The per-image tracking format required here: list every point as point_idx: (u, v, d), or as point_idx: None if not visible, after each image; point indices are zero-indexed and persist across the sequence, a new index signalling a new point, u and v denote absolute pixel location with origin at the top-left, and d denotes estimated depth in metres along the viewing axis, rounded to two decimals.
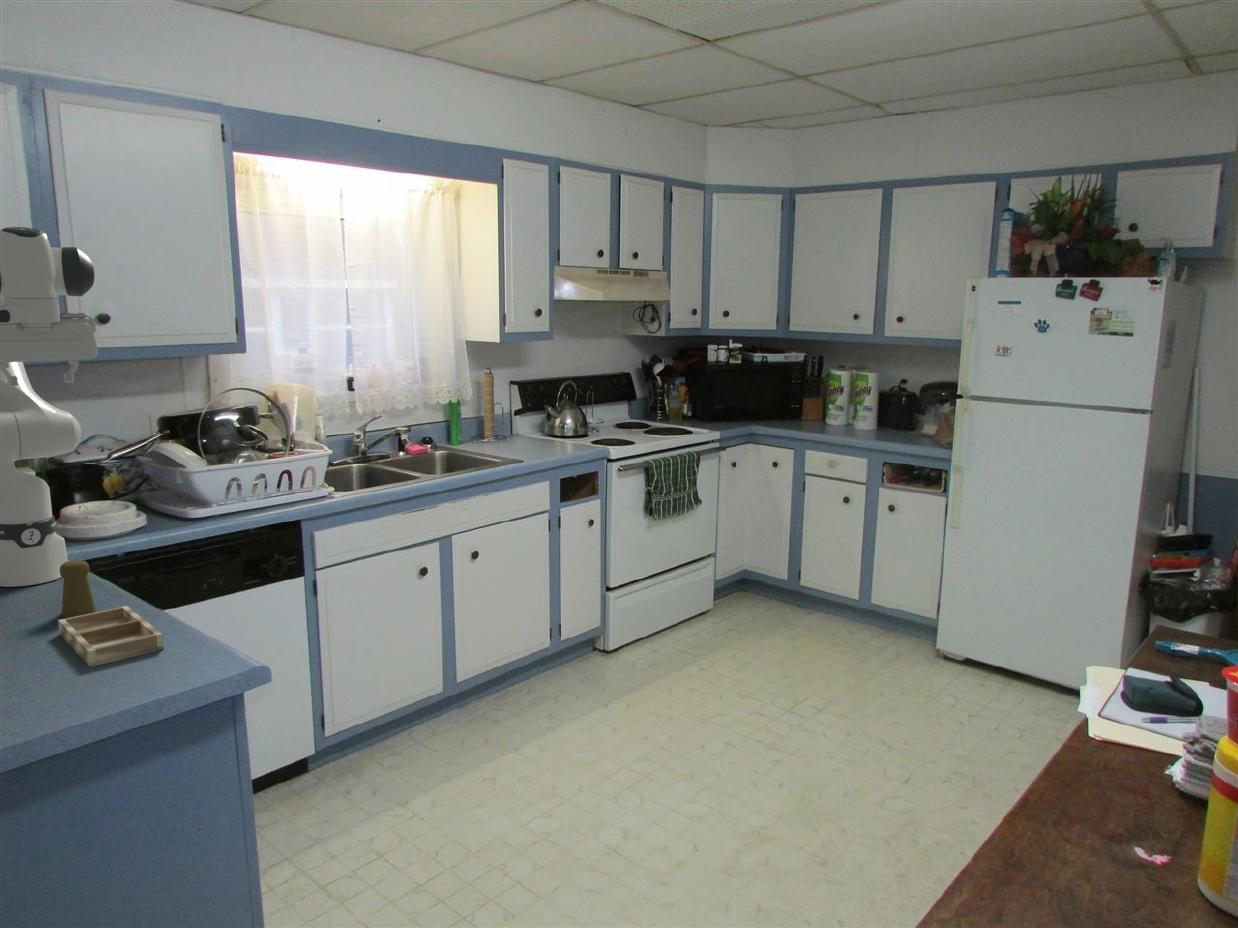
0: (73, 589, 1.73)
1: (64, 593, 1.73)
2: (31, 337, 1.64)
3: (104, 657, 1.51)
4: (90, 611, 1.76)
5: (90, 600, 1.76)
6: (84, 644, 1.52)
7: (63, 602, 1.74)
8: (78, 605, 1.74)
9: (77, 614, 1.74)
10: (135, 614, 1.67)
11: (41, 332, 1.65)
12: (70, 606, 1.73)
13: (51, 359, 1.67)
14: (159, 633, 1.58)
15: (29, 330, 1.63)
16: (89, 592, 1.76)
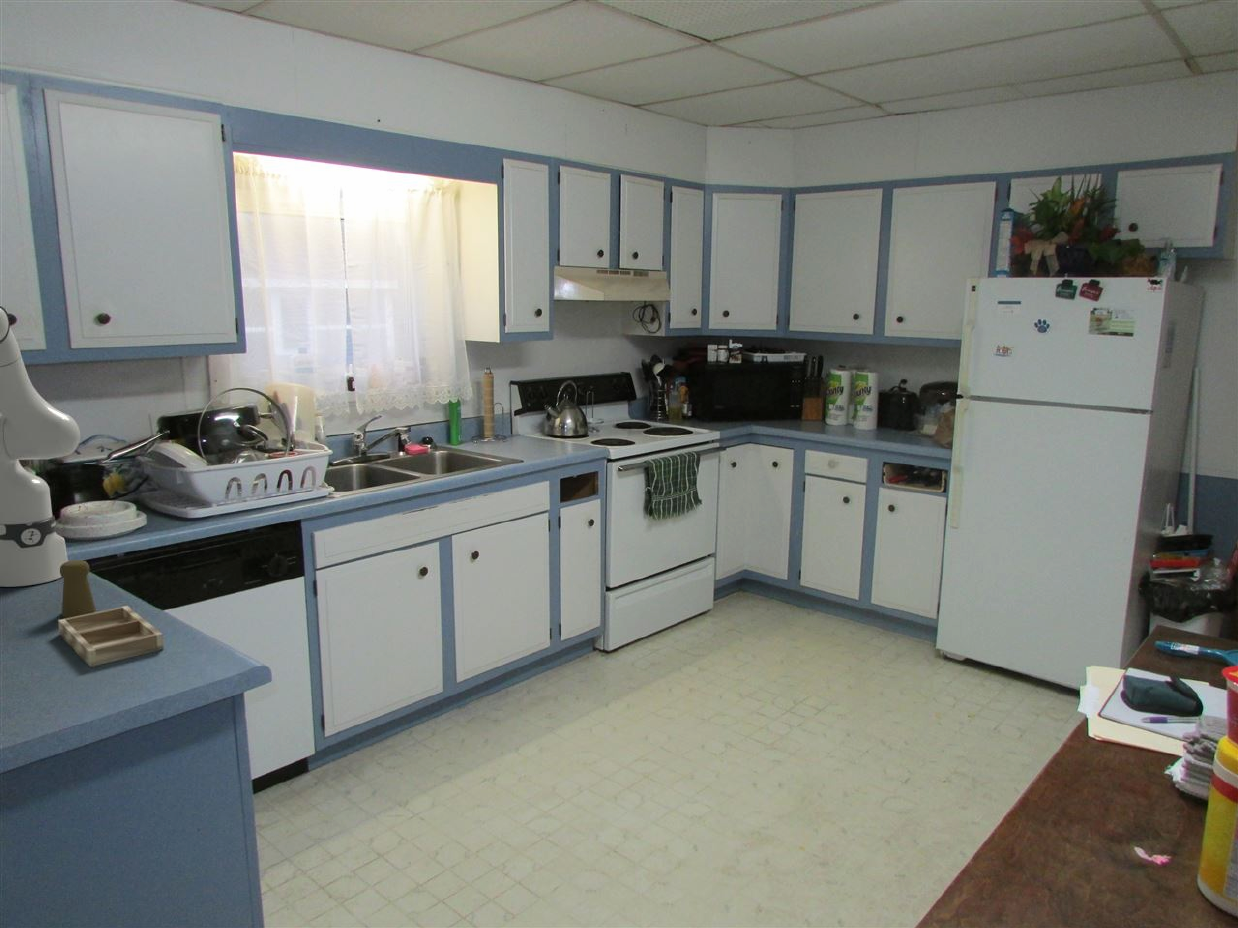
0: (73, 589, 1.73)
1: (64, 593, 1.73)
2: None
3: (104, 657, 1.51)
4: (90, 611, 1.76)
5: (90, 600, 1.76)
6: (84, 644, 1.52)
7: (63, 602, 1.74)
8: (78, 605, 1.74)
9: (77, 614, 1.74)
10: (135, 614, 1.67)
11: None
12: (70, 606, 1.73)
13: None
14: (159, 633, 1.58)
15: None
16: (89, 592, 1.76)
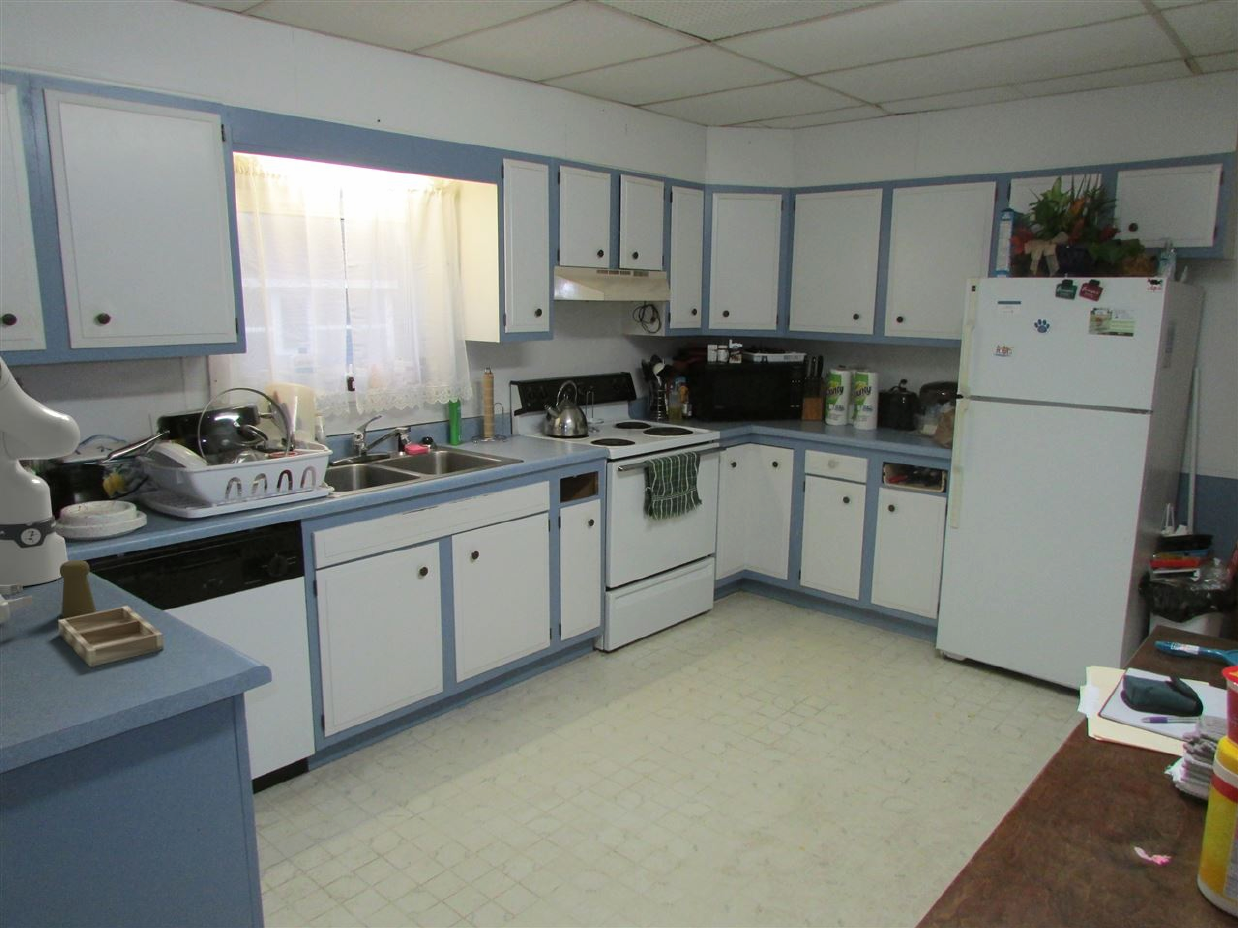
0: (73, 589, 1.73)
1: (64, 593, 1.73)
2: None
3: (104, 657, 1.51)
4: (90, 611, 1.76)
5: (90, 600, 1.76)
6: (84, 644, 1.52)
7: (63, 602, 1.74)
8: (78, 605, 1.74)
9: (77, 614, 1.74)
10: (135, 614, 1.67)
11: None
12: (70, 606, 1.73)
13: None
14: (159, 633, 1.58)
15: None
16: (89, 592, 1.76)
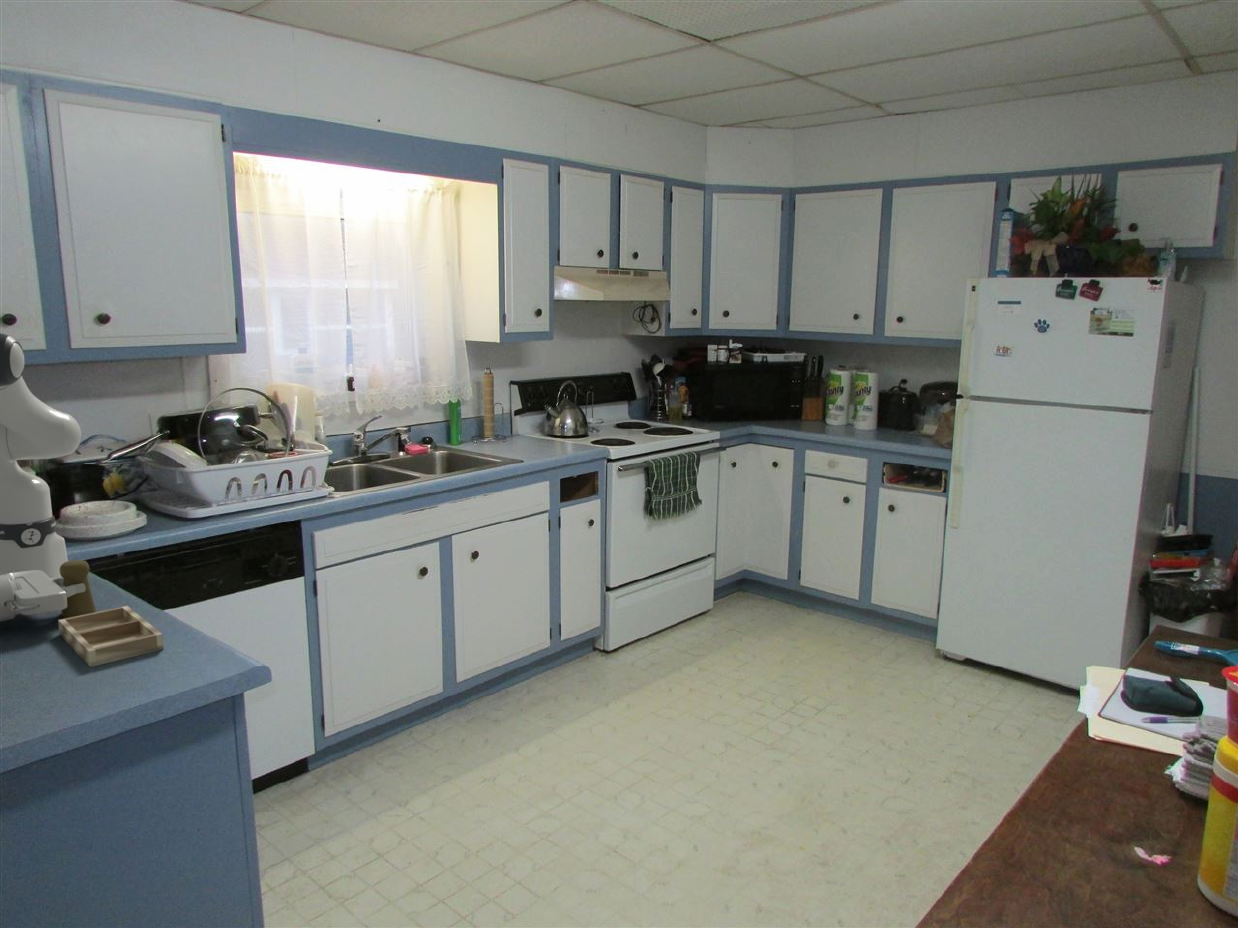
0: None
1: None
2: None
3: (104, 657, 1.51)
4: (90, 611, 1.76)
5: (90, 600, 1.76)
6: (84, 644, 1.52)
7: None
8: (78, 605, 1.74)
9: (77, 614, 1.74)
10: (135, 614, 1.67)
11: None
12: (70, 606, 1.73)
13: None
14: (159, 633, 1.58)
15: None
16: (89, 592, 1.76)
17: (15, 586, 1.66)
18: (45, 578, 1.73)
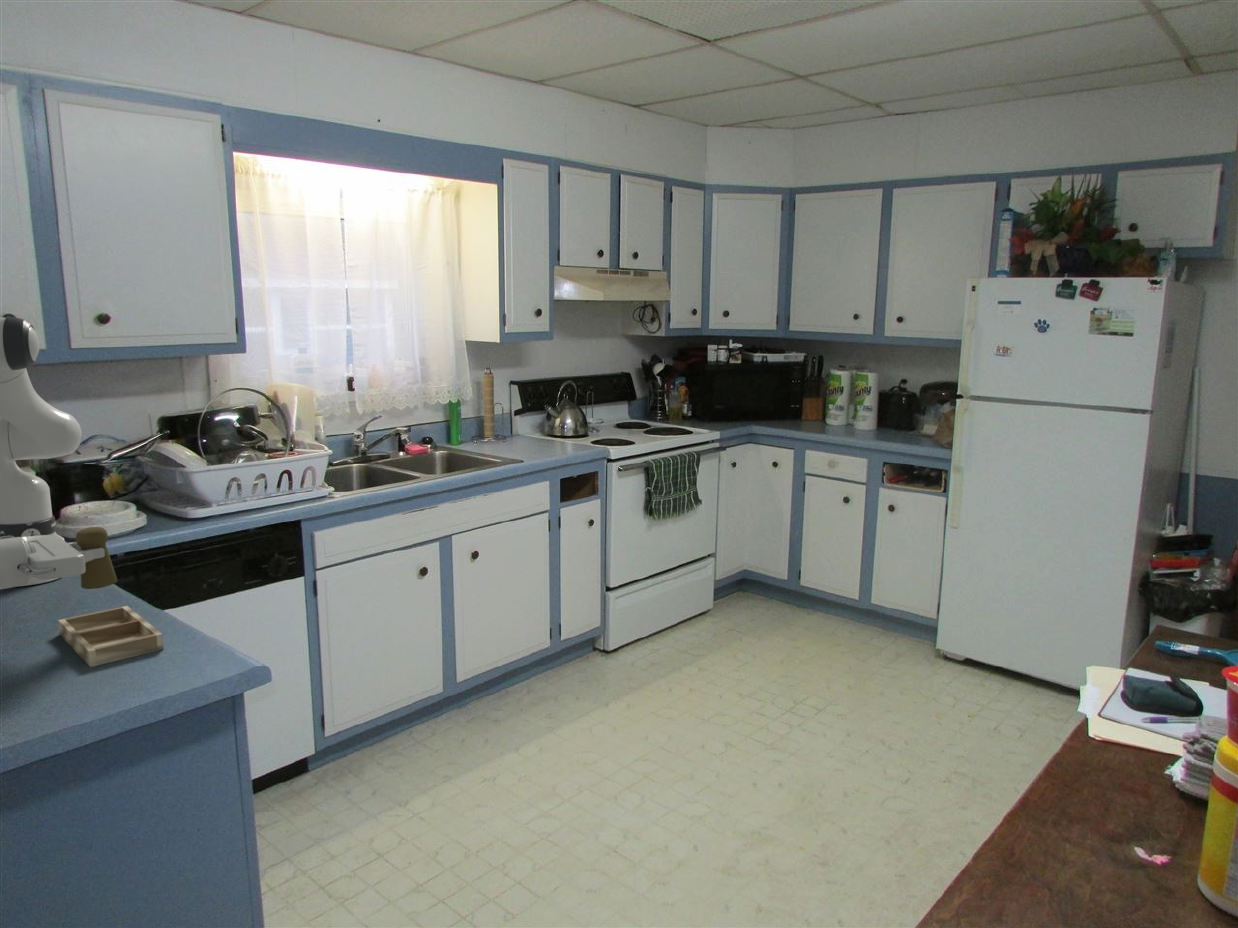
0: None
1: None
2: None
3: (104, 657, 1.51)
4: (111, 581, 1.62)
5: (111, 569, 1.62)
6: (84, 644, 1.52)
7: None
8: (98, 575, 1.60)
9: (98, 585, 1.60)
10: (135, 614, 1.67)
11: None
12: (90, 577, 1.60)
13: None
14: (159, 633, 1.58)
15: None
16: (109, 561, 1.62)
17: (29, 549, 1.52)
18: (61, 542, 1.59)
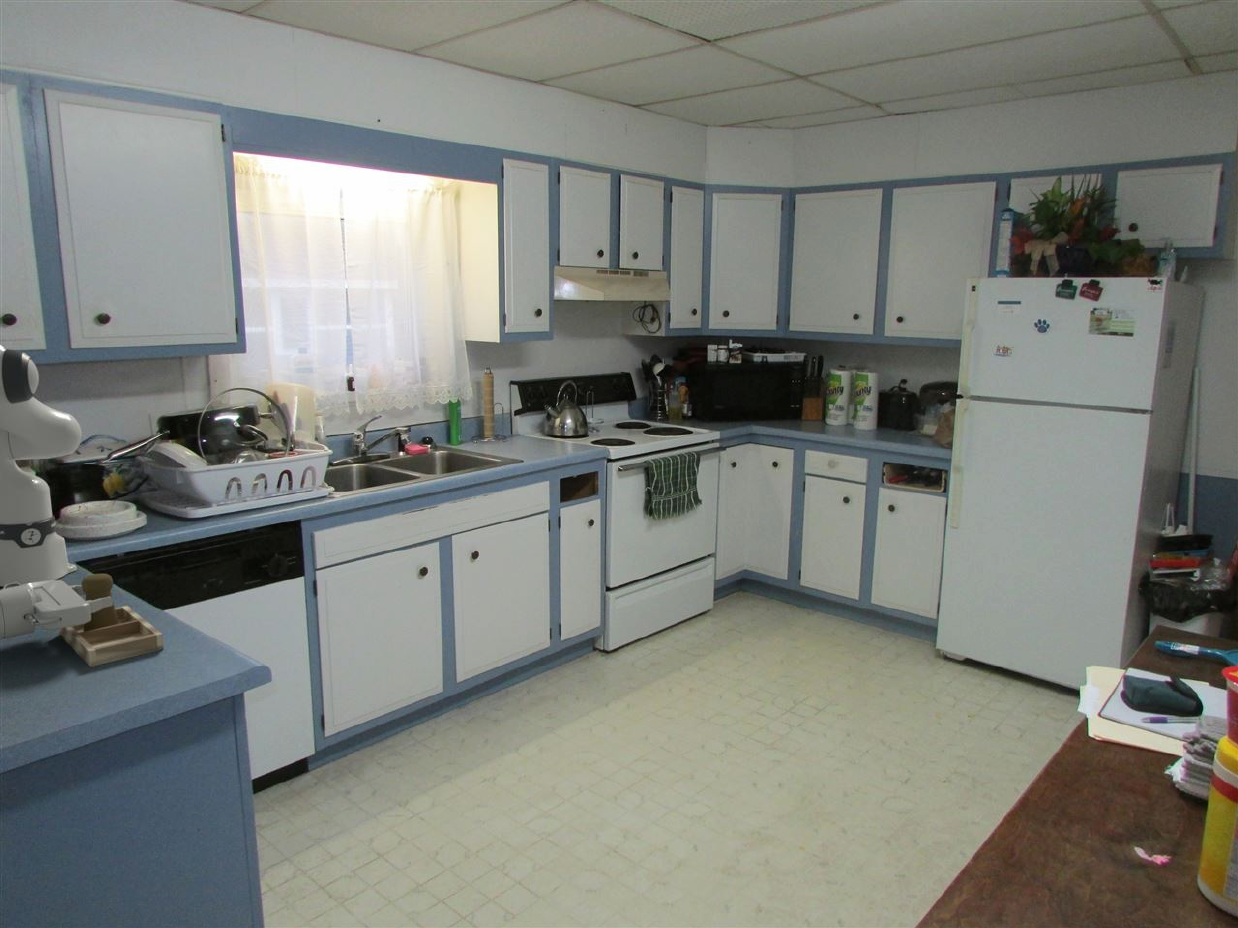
0: None
1: None
2: None
3: (104, 657, 1.51)
4: None
5: (114, 616, 1.65)
6: (84, 644, 1.52)
7: None
8: (101, 622, 1.62)
9: None
10: (135, 614, 1.67)
11: None
12: (93, 623, 1.62)
13: None
14: (159, 633, 1.58)
15: None
16: (113, 608, 1.65)
17: (35, 598, 1.54)
18: (66, 589, 1.61)
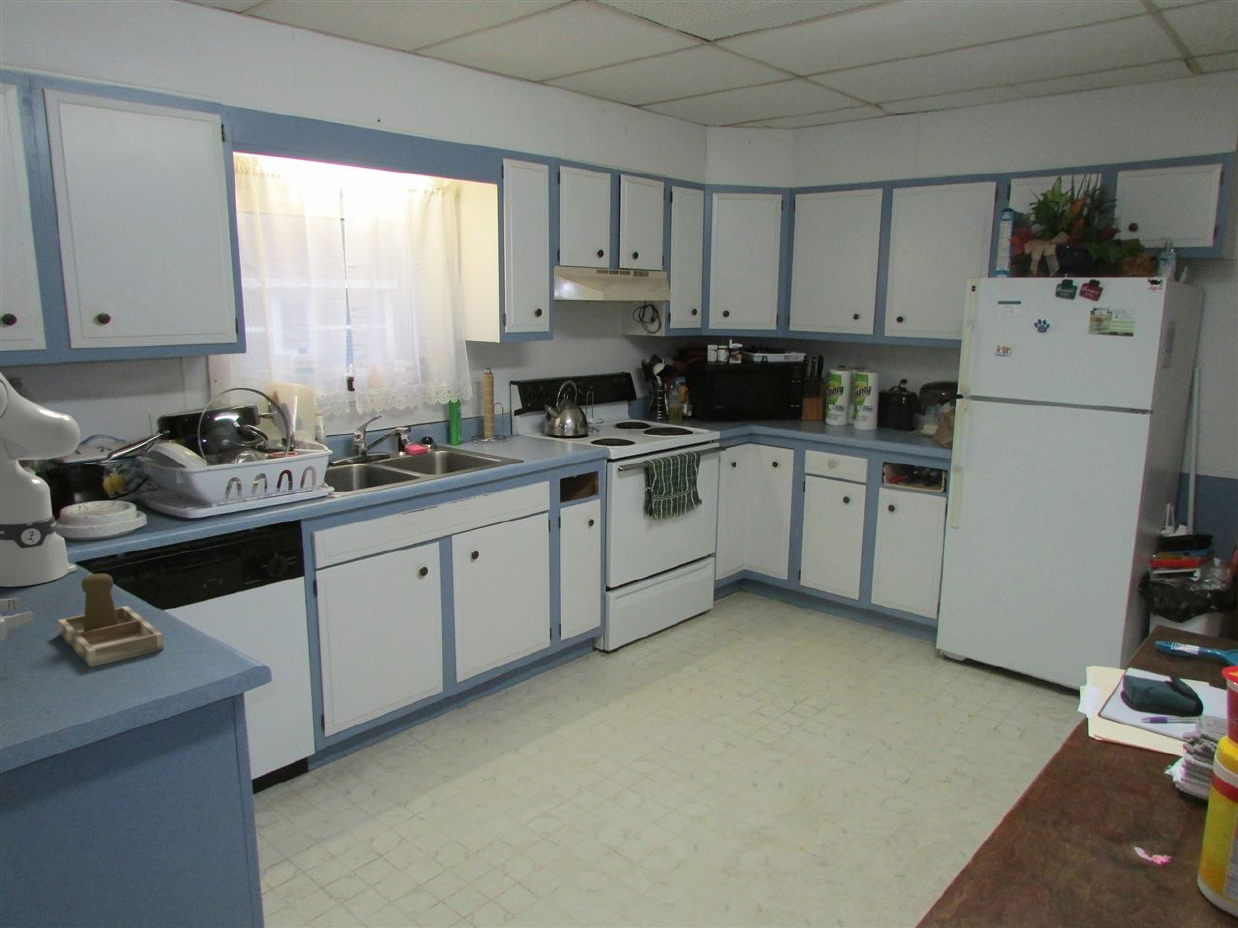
0: (96, 605, 1.62)
1: (86, 609, 1.62)
2: None
3: (104, 657, 1.51)
4: None
5: (114, 616, 1.65)
6: (84, 644, 1.52)
7: (85, 619, 1.63)
8: (101, 622, 1.62)
9: None
10: (135, 614, 1.67)
11: None
12: (93, 623, 1.62)
13: None
14: (159, 633, 1.58)
15: None
16: (113, 608, 1.65)
17: None
18: None
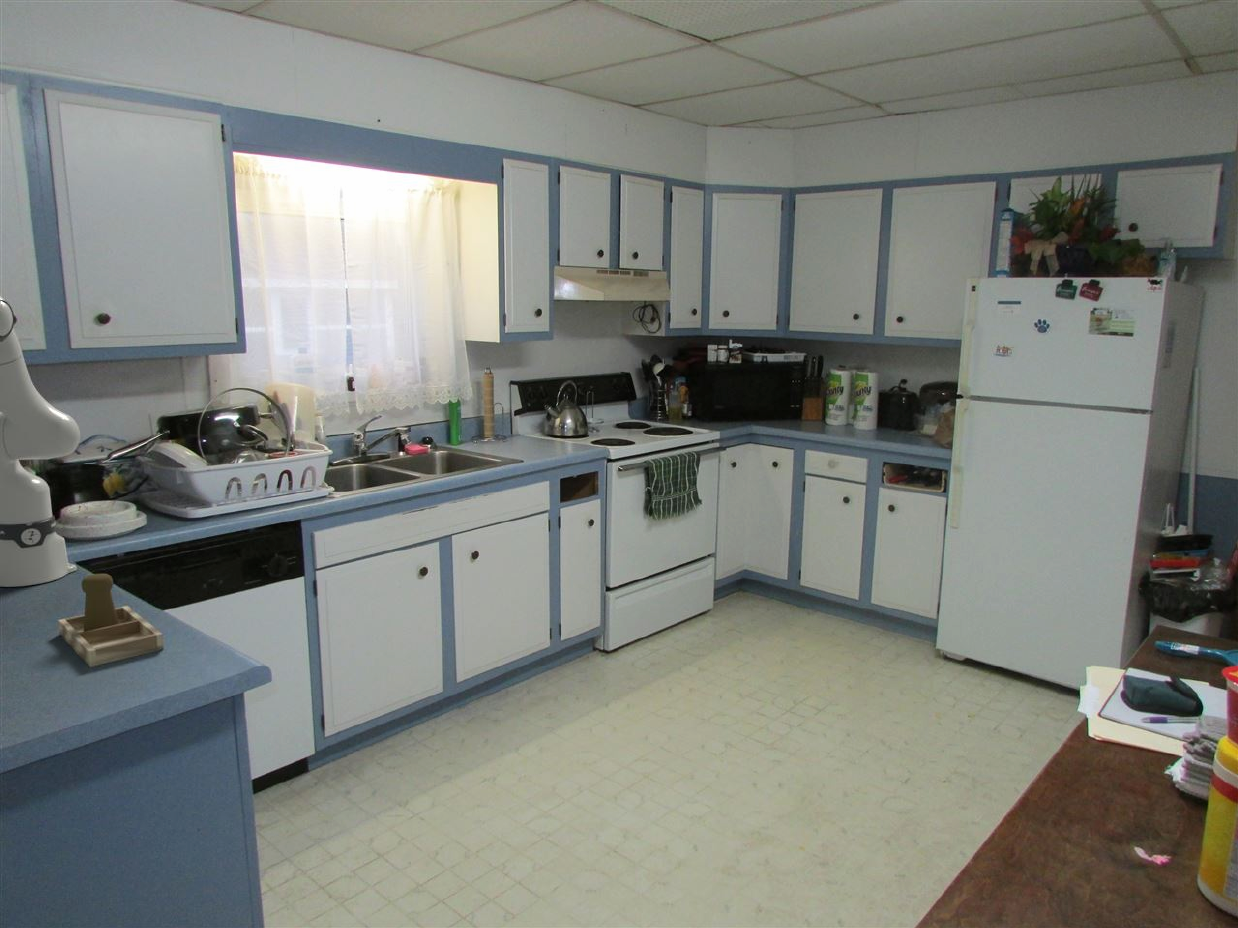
0: (96, 605, 1.62)
1: (86, 609, 1.62)
2: None
3: (104, 657, 1.51)
4: None
5: (114, 616, 1.65)
6: (84, 644, 1.52)
7: (85, 619, 1.63)
8: (101, 622, 1.62)
9: None
10: (135, 614, 1.67)
11: None
12: (93, 623, 1.62)
13: None
14: (159, 633, 1.58)
15: None
16: (113, 608, 1.65)
17: None
18: None
